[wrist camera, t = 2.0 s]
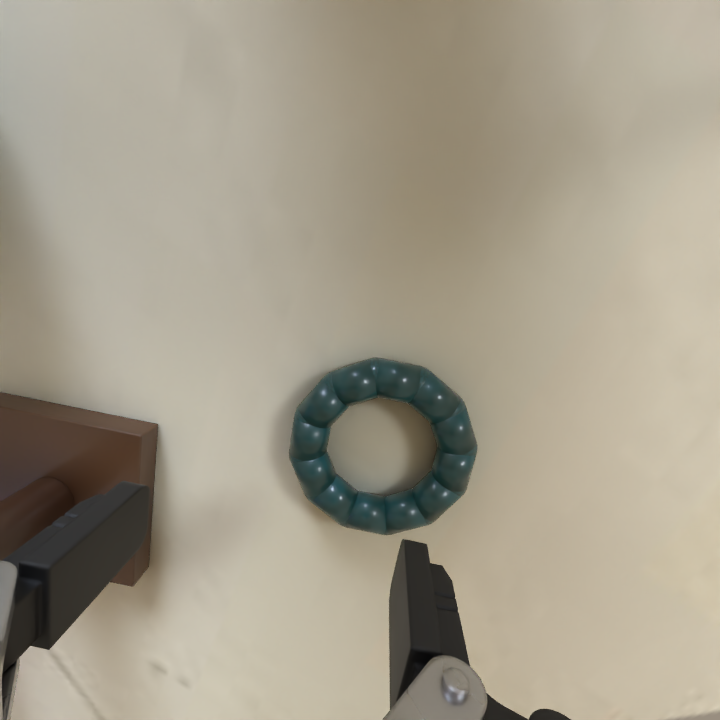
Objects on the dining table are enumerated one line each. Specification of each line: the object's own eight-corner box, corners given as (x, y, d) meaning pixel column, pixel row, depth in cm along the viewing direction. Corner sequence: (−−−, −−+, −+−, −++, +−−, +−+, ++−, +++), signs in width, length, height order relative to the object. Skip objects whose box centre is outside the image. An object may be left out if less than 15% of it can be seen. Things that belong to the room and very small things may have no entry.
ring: (309, 340, 19) (301, 347, 17) (490, 375, 19) (501, 387, 17) (284, 499, 21) (275, 520, 19) (446, 532, 21) (452, 557, 19)
